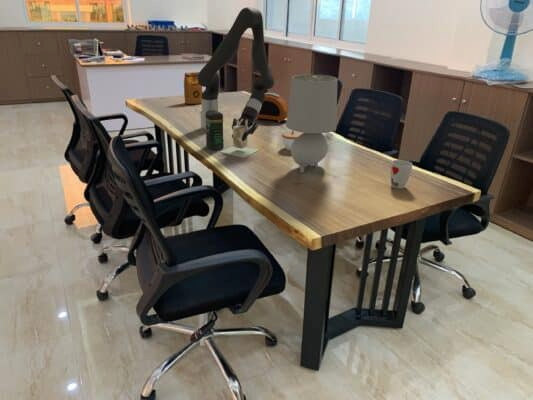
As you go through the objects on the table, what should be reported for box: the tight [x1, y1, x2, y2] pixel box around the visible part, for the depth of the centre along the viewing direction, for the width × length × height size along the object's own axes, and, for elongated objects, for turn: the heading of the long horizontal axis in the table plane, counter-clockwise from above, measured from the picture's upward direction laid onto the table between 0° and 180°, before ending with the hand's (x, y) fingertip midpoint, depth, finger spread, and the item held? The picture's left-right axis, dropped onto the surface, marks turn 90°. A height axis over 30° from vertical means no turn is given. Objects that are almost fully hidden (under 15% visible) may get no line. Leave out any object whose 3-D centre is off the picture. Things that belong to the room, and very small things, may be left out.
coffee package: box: [183, 71, 204, 105], centre depth 298 cm, size 10×12×22 cm
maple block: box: [232, 125, 248, 149], centre depth 203 cm, size 5×5×10 cm
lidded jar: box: [281, 130, 303, 152], centre depth 211 cm, size 11×11×9 cm
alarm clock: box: [255, 92, 289, 123], centre depth 263 cm, size 23×9×17 cm, turn 68°
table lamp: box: [285, 74, 338, 174], centre depth 179 cm, size 23×22×40 cm
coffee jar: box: [205, 110, 224, 151], centre depth 208 cm, size 10×8×19 cm
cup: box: [390, 159, 413, 190], centre depth 170 cm, size 8×8×10 cm
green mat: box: [220, 146, 260, 158], centre depth 207 cm, size 14×14×1 cm
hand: (238, 139), depth 202 cm, fingers closed on maple block, 5 cm apart
